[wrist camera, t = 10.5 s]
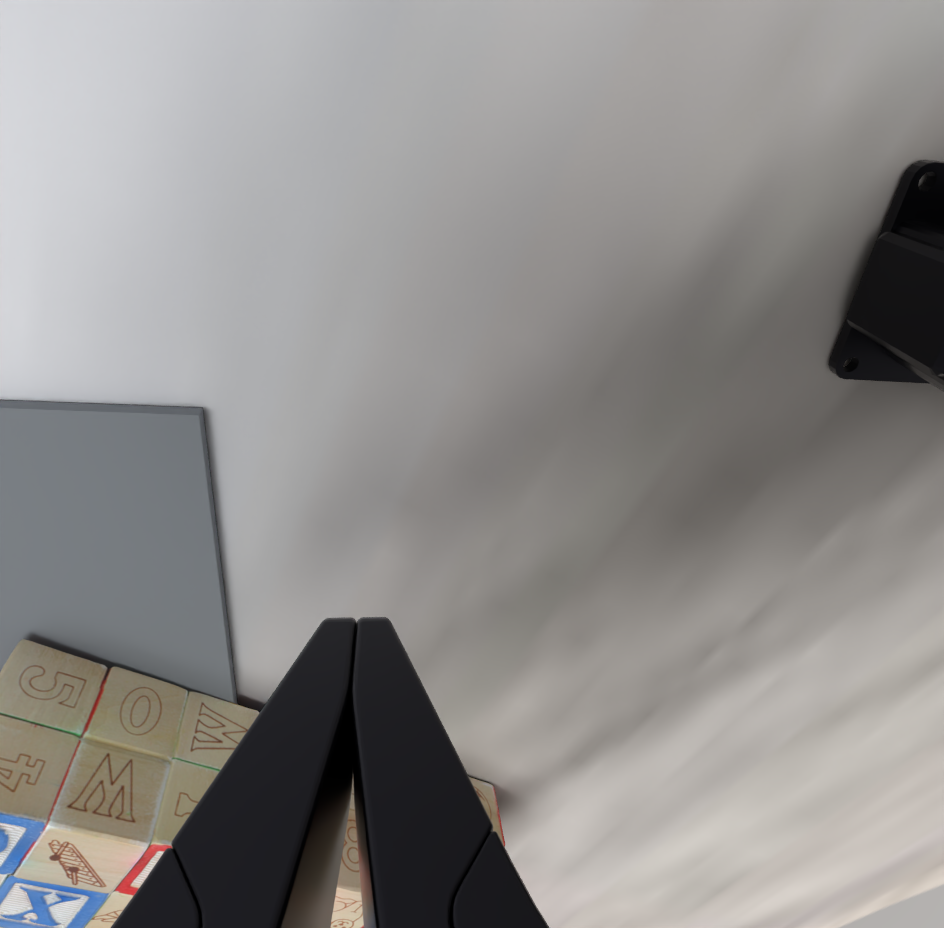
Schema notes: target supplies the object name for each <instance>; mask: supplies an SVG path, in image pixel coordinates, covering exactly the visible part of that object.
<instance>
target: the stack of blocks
mask: <svg viewBox="0 0 944 928" xmlns="http://www.w3.org/2000/svg"><path fill="white" fill-rule="evenodd" d="M258 715H259V712H258V711H256V710H253V709H249V708H246V707H243V706H240V705H237V704H234V703H230V702H227V701H224V700H220V699H217V698H214V697H211V696H208V695H205V694H201V693H197V692H189V691H187V690H185V689H183V688H181V687H178V686H176V685H173V684H170V683H167V682H164V681H161V680H158V679H154V678H151V677H148V676H145V675H142V674H138V673H135V672H132V671H129V670H126V669H122V668H119V667H112V668H110V669H109V668H107V667H106V666H105V665H103V664H99V663H95V662H92V661H90V660H87V659H84V658H80V657H77V656H74V655H71V654H68V653H65V652H62V651H59V650H56V649H53V648H50V647H47V646H44V645H41V644H38V643H35V642H32V641H29V640H25V639H22V640H21V641H19V643H18V644H17V646H16V647H15V649H14V650H13V652H12V653H11V655H10V656H9V658H8V660H7V661H6V663H5V665H4V666H3V668H2V670H1V672H0V928H111V926H112V925H113V923H114V922H115V921H116V919H117V918H118V916H119V915H120V914H121V912H122V911H123V910H124V908H125V907H126V905H127V904H128V903H129V901H130V900H131V899H132V897H133V896H134V894H135V893H136V892H137V890H138V889H139V887H140V886H141V885H142V883H143V882H144V880H145V879H146V878H147V876H148V875H149V873H150V872H151V870H152V869H153V867H154V866H155V864H156V863H157V861H158V860H159V858H160V857H161V856H162V854H163V853H164V851H165V850H166V849H167V848H172V846H171V842H172V840H173V839H174V837H175V836H176V834H177V833H178V831H179V830H180V828H181V827H182V825H183V824H184V823H185V821H186V820H187V818H188V817H189V815H190V814H191V812H192V811H193V809H194V808H195V806H196V805H197V804H198V802H199V801H200V799H201V798H202V796H203V795H204V793H205V792H206V790H207V789H208V788H209V786H210V785H211V783H212V782H213V780H214V779H215V777H216V776H217V774H218V773H219V771H220V770H221V769H222V767H223V766H224V764H225V763H226V761H227V760H228V758H229V757H230V755H231V754H232V752H233V751H234V750H235V748H236V747H237V745H238V744H239V742H240V741H241V739H242V738H243V736H244V735H245V734H246V732H247V731H248V729H249V728H250V726H251V725H252V723H253V722H254V720H255V719H256V717H257V716H258ZM469 778H470V777H469ZM470 780H471V782H472V784H473V786H474V788H475V790H476V792H477V794H478V796H479V798H480V800H481V802H482V804H483V806H484V808H485V810H486V812H487V814H488V816H489V818H490V820H491V822H492V824H493V831H495V832H497V833H498V835H499V837H500V839H501V841H502V843H503V845H504V847H505V841H504V836H503V831H502V826H501V820H500V815H499V809H498V805H497V800H496V795H495V789H494V786H492V785H491V784H489V783H486V782H483V781H480V780H477V779H473V778H470ZM330 928H364V922H363V910H362V897H361V884H360V872H359V859H358V846H357V833H356V821H355V807H354V785H353V784H352V794H351V802H350V809H349V815H348V822H347V828H346V834H345V840H344V846H343V852H342V858H341V865H340V871H339V877H338V883H337V889H336V895H335V902H334V908H333V914H332V920H331V926H330Z"/></svg>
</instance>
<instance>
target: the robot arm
mask: <svg viewBox="0 0 944 928" xmlns="http://www.w3.org/2000/svg"><path fill="white" fill-rule="evenodd" d="M924 174H927V178H926V181H925V182H924V184H923V185H922V186H921V187H918V184H919V180H920V179H921V177H922V176H923V175H924ZM849 358H851V361H850V362H849V364H848V365H846V366H844V367H843V365H844V363H845V361H846V360H848V359H849ZM829 368H830V370H831V371H832V372H833V373H834V374H836V375H837V376H838V377H840V378H843V379H854V380H874V381H894V382H913V383H931V384H933V385H934V386H936V387H937V388H939V389H941V390H942V391H944V162H939V161H929V160H923V161H918V162H916V163H914V164H912V165H911V166H910V167H909V168H908V169H907V170H906V172H905V173H904V175H903V177H902V179H901V182H900V184H899V187H898V189H897V192H896V194H895V197H894V199H893V202H892V204H891V207H890V209H889V212H888V214H887V217H886V219H885V222H884V224H883V227H882V229H881V232H880V234H879V237H878V239H877V241H876V243H875V246H874V248H873V251H872V253H871V256H870V258H869V261H868V263H867V266H866V268H865V271H864V273H863V276H862V278H861V281H860V283H859V286H858V288H857V291H856V293H855V296H854V298H853V301H852V304H851V306H850V309H849V311H848V314H847V317H846V320H845V322H844V325H843V327H842V330H841V332H840V335H839V337H838V340H837V342H836V345H835V347H834V350H833V352H832V355H831V357H830V360H829ZM352 784H353V785H354V807H355V821H356V833H357V846H358V859H359V872H360V884H361V897H362V910H363V922H364V928H549V926H548V925H547V923H546V921H545V920H544V918H543V916H542V915H541V913H540V912H539V910H538V908H537V907H536V905H535V903H534V902H533V900H532V898H531V896H530V894H529V892H528V890H527V889H526V887H525V885H524V883H523V881H522V879H521V878H520V876H519V874H518V872H517V870H516V868H515V867H514V865H513V863H512V861H511V859H510V857H509V855H508V853H507V851H506V849H505V847H504V845H503V843H502V841H501V839H500V837H499V835H498V833H497V832H495V831H493V824H492V822H491V820H490V818H489V816H488V814H487V812H486V810H485V808H484V806H483V804H482V802H481V800H480V798H479V796H478V794H477V792H476V790H475V788H474V786H473V784H472V782H471V780H470V778H469V776H468V774H467V772H466V770H465V768H464V766H463V764H462V762H461V760H460V758H459V756H458V754H457V752H456V750H455V748H454V746H453V744H452V742H451V740H450V738H449V736H448V734H447V732H446V730H445V728H444V726H443V724H442V722H441V721H440V719H439V717H438V715H437V713H436V711H435V709H434V707H433V705H432V703H431V701H430V699H429V697H428V695H427V693H426V691H425V689H424V687H423V685H422V683H421V681H420V679H419V677H418V675H417V673H416V671H415V669H414V667H413V665H412V663H411V661H410V659H409V657H408V655H407V653H406V651H405V649H404V647H403V645H402V643H401V641H400V639H399V637H398V635H397V633H396V631H395V629H394V627H393V625H392V623H391V621H390V620H389V619H388V618H386V617H362V618H360V619H359V620H358V621H357V623H356V620H355V619H354V618H327V619H325V620H324V621H323V622H322V623H321V624H320V626H319V627H318V628H317V630H316V631H315V633H314V634H313V636H312V637H311V639H310V640H309V642H308V643H307V644H306V646H305V647H304V649H303V650H302V652H301V653H300V655H299V656H298V658H297V659H296V661H295V662H294V663H293V665H292V666H291V668H290V669H289V671H288V672H287V674H286V675H285V677H284V678H283V680H282V681H281V682H280V684H279V685H278V687H277V688H276V690H275V691H274V693H273V694H272V696H271V697H270V698H269V700H268V701H267V703H266V704H265V706H264V707H263V709H262V710H261V712H260V713H259V715H258V716H257V717H256V719H255V720H254V722H253V723H252V725H251V726H250V728H249V729H248V731H247V732H246V734H245V735H244V736H243V738H242V739H241V741H240V742H239V744H238V745H237V747H236V748H235V750H234V751H233V752H232V754H231V755H230V757H229V758H228V760H227V761H226V763H225V764H224V766H223V767H222V769H221V770H220V771H219V773H218V774H217V776H216V777H215V779H214V780H213V782H212V783H211V785H210V786H209V788H208V789H207V790H206V792H205V793H204V795H203V796H202V798H201V799H200V801H199V802H198V804H197V805H196V806H195V808H194V809H193V811H192V812H191V814H190V815H189V817H188V818H187V820H186V821H185V823H184V824H183V825H182V827H181V828H180V830H179V831H178V833H177V834H176V836H175V837H174V839H173V840H172V842H171V846H172V848H167V849H166V850H165V851H164V853H163V854H162V856H161V857H160V858H159V860H158V861H157V863H156V864H155V866H154V867H153V869H152V870H151V872H150V873H149V875H148V876H147V878H146V879H145V880H144V882H143V883H142V885H141V886H140V887H139V889H138V890H137V892H136V893H135V894H134V896H133V897H132V899H131V900H130V901H129V903H128V904H127V905H126V907H125V908H124V910H123V911H122V912H121V914H120V915H119V916H118V918H117V919H116V921H115V922H114V923H113V925H112V926H111V928H330V926H331V920H332V914H333V908H334V902H335V895H336V889H337V883H338V877H339V871H340V865H341V858H342V852H343V846H344V840H345V834H346V828H347V822H348V815H349V809H350V802H351V794H352Z"/></svg>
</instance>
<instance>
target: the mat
mask: <svg viewBox="0 0 944 928" xmlns="http://www.w3.org/2000/svg"><path fill="white" fill-rule="evenodd" d="M22 639H25V640H29V641H32V642H35V643H38V644H41V645H44V646H47V647H50V648H53V649H56V650H59V651H62V652H65V653H68V654H71V655H74V656H77V657H80V658H84V659H87V660H90V661H92V662H95V663H99V664H103V665H105V666H106V667H107V668H109V669H110V668H112V667H119V668H122V669H126V670H129V671H132V672H135V673H138V674H142V675H145V676H148V677H151V678H154V679H158V680H161V681H164V682H167V683H170V684H173V685H176V686H178V687H181V688H183V689H185V690H187V691H189V692H197V693H201V694H205V695H208V696H211V697H214V698H217V699H220V700H224V701H227V702H230V703H234V704H237V696H236V688H235V679H234V671H233V662H232V654H231V645H230V637H229V628H228V620H227V611H226V603H225V594H224V586H223V577H222V569H221V560H220V552H219V543H218V535H217V526H216V518H215V509H214V501H213V492H212V484H211V475H210V467H209V458H208V450H207V441H206V433H205V424H204V416H203V408H195V407H169V406H143V405H117V404H90V403H64V402H38V401H12V400H0V672H1V670H2V668H3V666H4V665H5V663H6V661H7V660H8V658H9V656H10V655H11V653H12V652H13V650H14V649H15V647H16V646H17V644H18V643H19V641H21V640H22Z"/></svg>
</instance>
